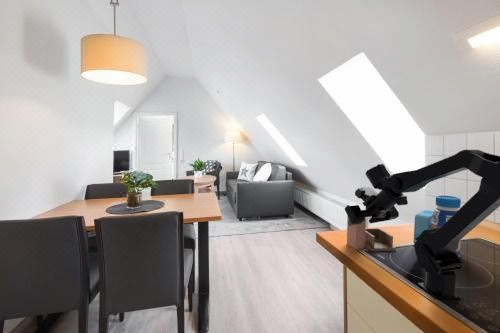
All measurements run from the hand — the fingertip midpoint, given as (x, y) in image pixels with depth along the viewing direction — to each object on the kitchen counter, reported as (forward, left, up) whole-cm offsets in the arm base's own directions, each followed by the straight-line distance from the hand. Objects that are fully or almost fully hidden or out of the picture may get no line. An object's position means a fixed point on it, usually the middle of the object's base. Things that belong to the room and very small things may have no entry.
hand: (359, 223), depth 92 cm
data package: (+3, -28, -9) cm, 29 cm away
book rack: (+2, -8, -9) cm, 12 cm away
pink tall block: (+2, 0, -9) cm, 9 cm away
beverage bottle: (-6, -28, -9) cm, 30 cm away
